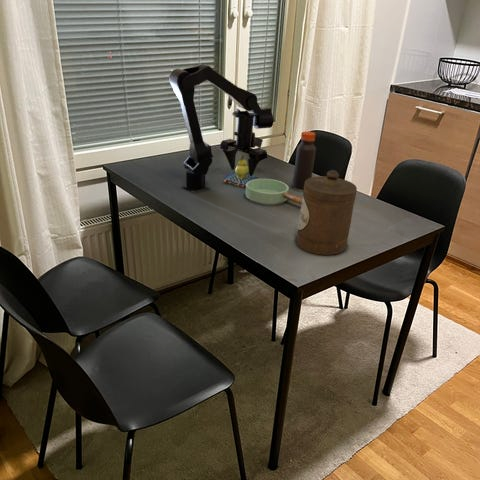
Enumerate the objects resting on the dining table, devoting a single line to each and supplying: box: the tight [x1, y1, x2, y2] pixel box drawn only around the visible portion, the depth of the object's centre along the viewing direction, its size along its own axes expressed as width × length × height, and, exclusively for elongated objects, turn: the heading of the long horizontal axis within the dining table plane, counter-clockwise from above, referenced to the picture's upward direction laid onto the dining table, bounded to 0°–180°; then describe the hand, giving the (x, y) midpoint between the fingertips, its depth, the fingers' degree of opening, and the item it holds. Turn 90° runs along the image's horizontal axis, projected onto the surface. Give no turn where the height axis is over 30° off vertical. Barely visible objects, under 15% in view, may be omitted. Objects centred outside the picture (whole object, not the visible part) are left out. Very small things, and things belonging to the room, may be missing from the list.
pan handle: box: [283, 192, 303, 206], centre depth 166 cm, size 2×12×2 cm, turn 47°
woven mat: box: [223, 171, 259, 188], centre depth 185 cm, size 10×11×2 cm
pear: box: [234, 155, 249, 179], centre depth 182 cm, size 5×5×8 cm
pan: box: [244, 178, 290, 205], centre depth 174 cm, size 15×15×4 cm
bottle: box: [291, 131, 317, 191], centre depth 179 cm, size 7×7×20 cm
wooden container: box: [296, 169, 358, 256], centre depth 140 cm, size 15×15×22 cm
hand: (241, 172), depth 184 cm, fingers open, 9 cm apart
